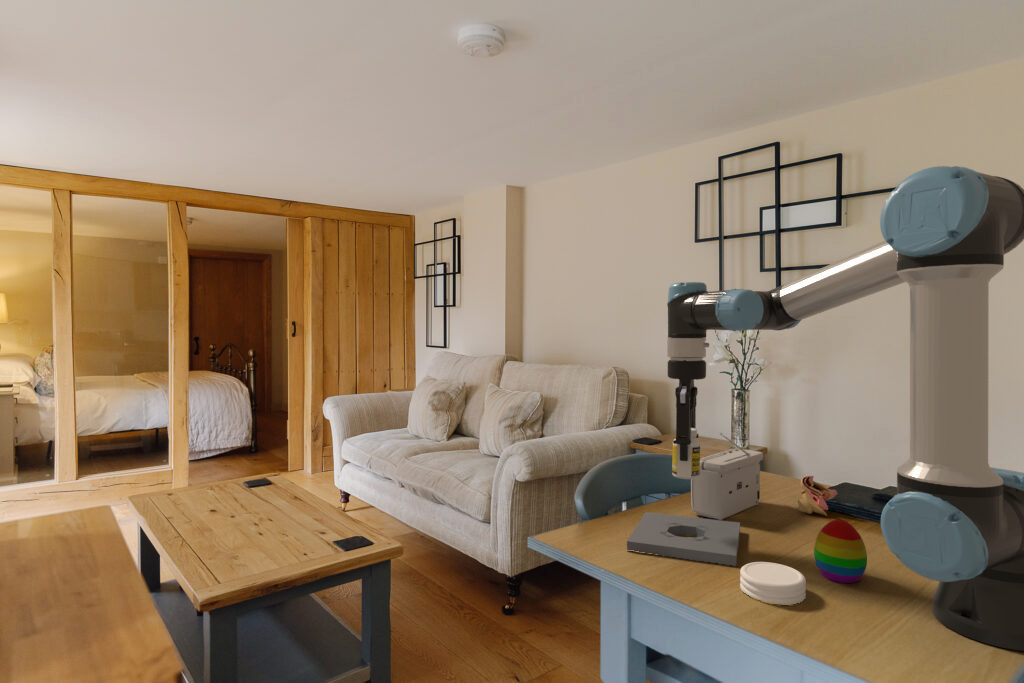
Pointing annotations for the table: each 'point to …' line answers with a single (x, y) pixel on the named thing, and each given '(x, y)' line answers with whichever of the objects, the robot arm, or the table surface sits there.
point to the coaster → (773, 583)
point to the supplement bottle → (695, 457)
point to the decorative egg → (840, 552)
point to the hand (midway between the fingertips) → (686, 472)
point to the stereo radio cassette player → (727, 483)
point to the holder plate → (709, 545)
